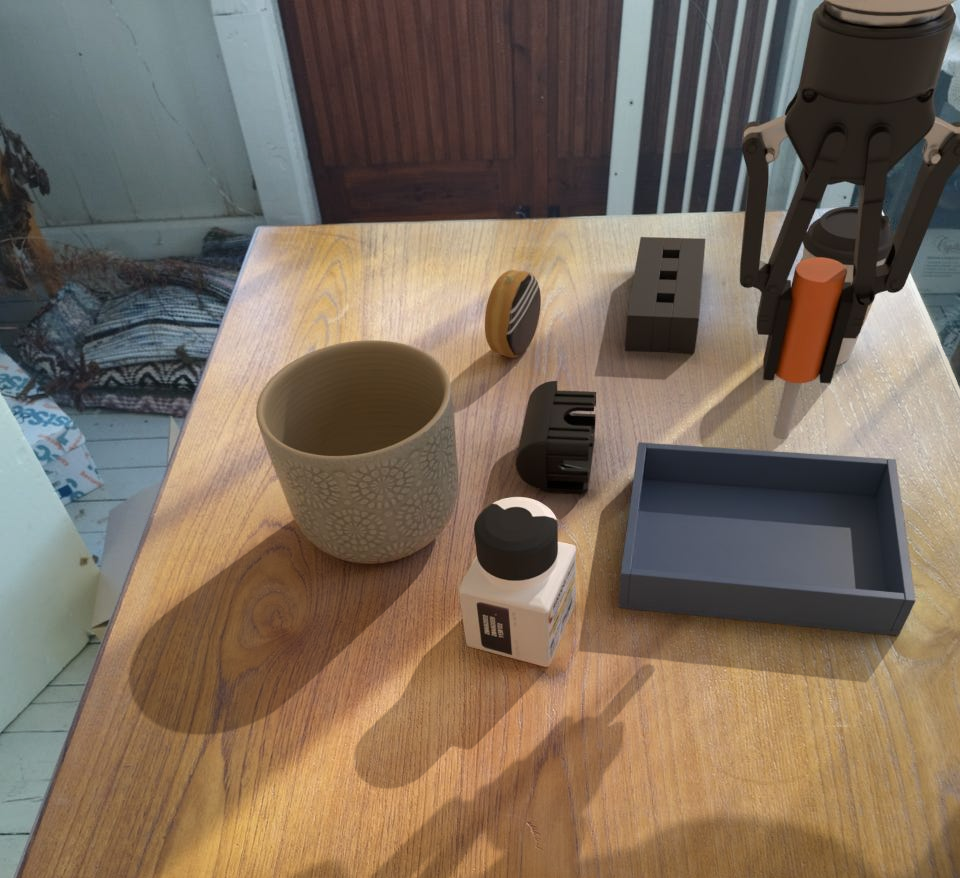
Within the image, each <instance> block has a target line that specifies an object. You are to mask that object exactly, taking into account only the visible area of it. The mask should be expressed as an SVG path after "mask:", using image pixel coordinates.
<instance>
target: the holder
mask: <svg viewBox="0 0 960 878" xmlns="http://www.w3.org/2000/svg"><path fill="white" fill-rule="evenodd" d="M706 241H707V239H706V238H696V237H695V238H693V237H656V236H655V237H654V236H640V239H639V244H638V249H637V256H636V262H635V268H634V274H633V279H632V284H631V285H632V286H631V291H630V297H629V303H628V307H627V313H626V328H625V342H624V343H625V345H624V346H625V347H624V350H625V351H634V352H655V353H677V354H678V353H679V354H695V352H696V345H697V337H698V329H699V321H700V312H701V301H702V288H703V287H702V286H703V277H704V276H703V275H704V264H705V251H706Z"/></svg>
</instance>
